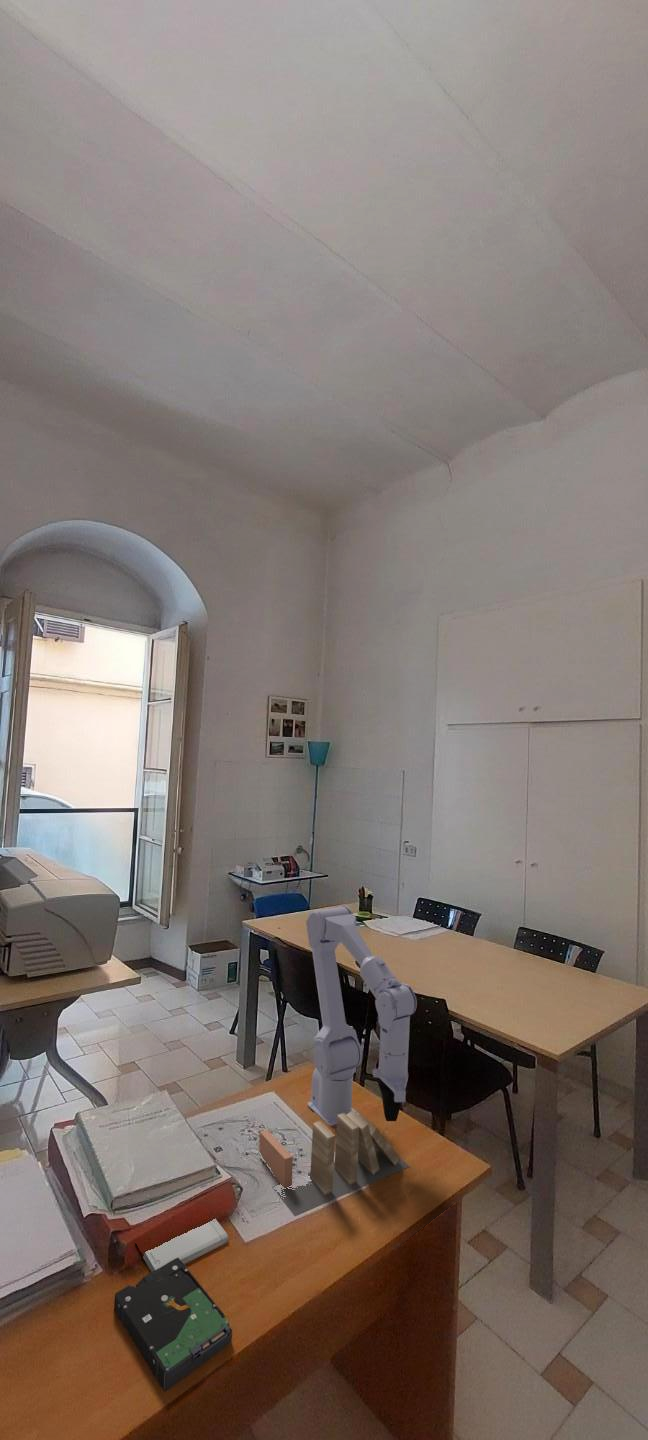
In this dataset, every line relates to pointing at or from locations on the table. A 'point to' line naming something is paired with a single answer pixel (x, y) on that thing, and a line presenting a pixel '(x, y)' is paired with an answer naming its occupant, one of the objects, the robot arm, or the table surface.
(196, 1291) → the disk drive
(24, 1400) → the table surface
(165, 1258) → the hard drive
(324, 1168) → the domino
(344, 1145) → the domino
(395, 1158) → the domino
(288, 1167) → the domino
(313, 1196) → the grey flat rectangular board
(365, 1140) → the domino
